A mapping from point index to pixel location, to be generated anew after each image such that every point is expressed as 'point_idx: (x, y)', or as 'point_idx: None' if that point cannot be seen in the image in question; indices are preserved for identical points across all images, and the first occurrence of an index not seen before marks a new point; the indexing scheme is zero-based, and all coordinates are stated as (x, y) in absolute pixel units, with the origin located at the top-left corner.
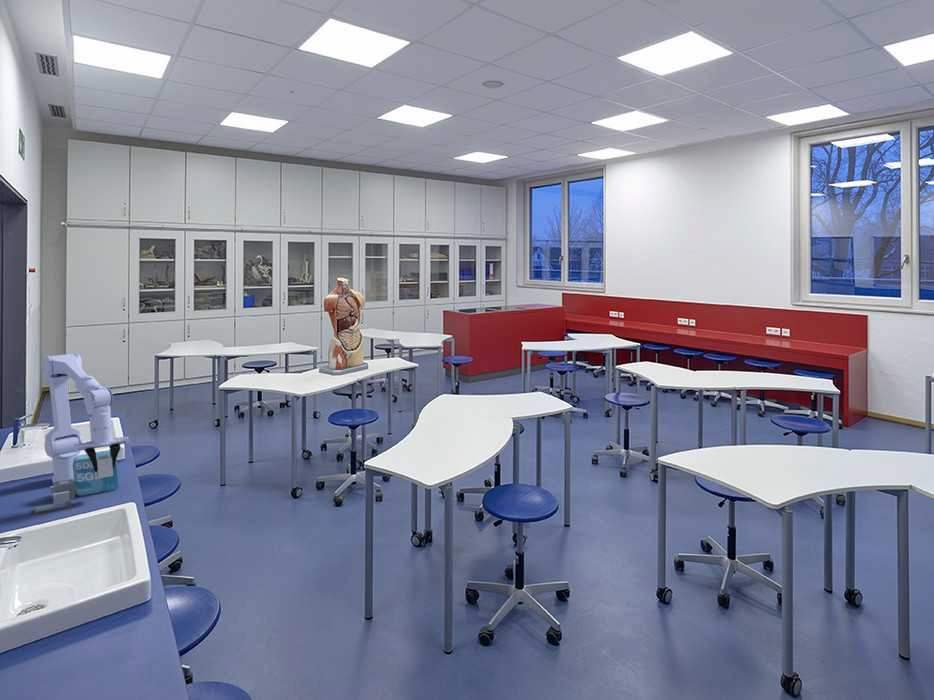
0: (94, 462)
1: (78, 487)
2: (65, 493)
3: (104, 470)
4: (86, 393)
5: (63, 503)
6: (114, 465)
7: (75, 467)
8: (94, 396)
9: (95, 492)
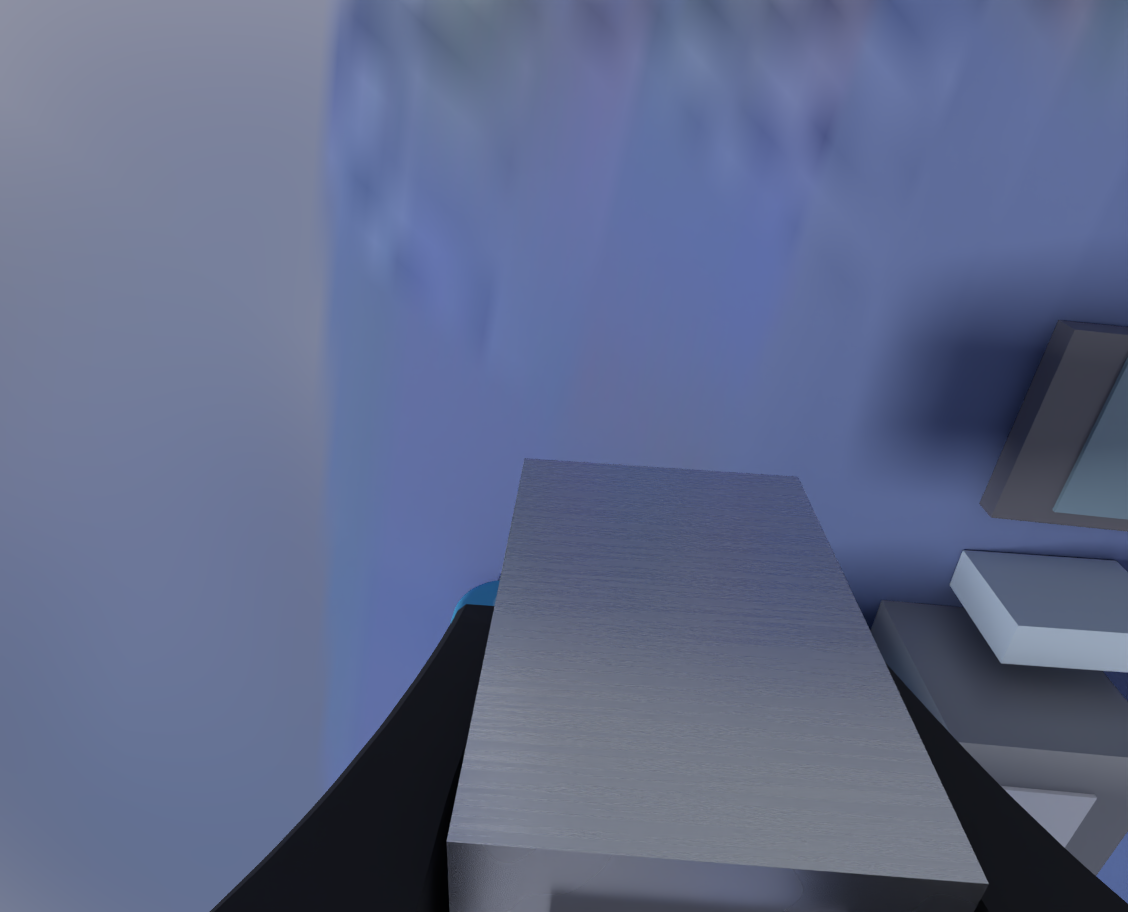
0: (997, 829)
1: None
2: (1053, 618)
3: (693, 561)
4: None
5: (1097, 463)
6: (443, 645)
7: None
8: None
9: None
